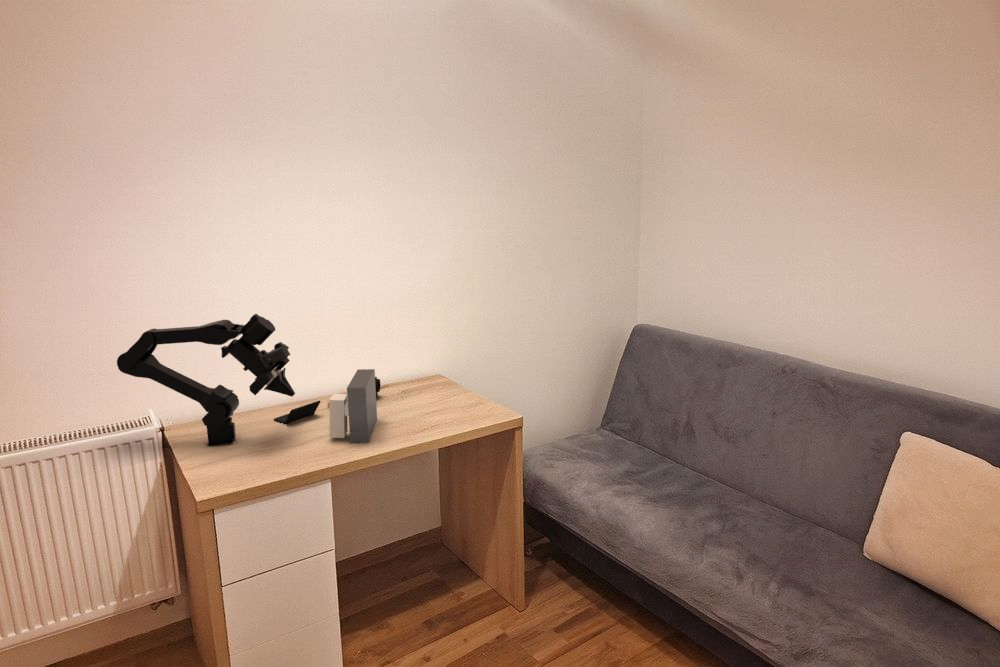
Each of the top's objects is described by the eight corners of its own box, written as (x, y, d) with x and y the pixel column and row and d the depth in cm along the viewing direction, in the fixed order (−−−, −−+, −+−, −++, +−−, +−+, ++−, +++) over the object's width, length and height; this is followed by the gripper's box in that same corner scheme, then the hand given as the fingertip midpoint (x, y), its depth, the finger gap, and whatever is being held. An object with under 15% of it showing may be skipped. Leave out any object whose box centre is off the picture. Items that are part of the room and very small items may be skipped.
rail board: (346, 443, 178) (343, 388, 175) (357, 420, 196) (354, 369, 192) (368, 442, 179) (365, 387, 175) (377, 420, 196) (374, 369, 193)
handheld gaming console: (296, 405, 205) (307, 385, 200) (312, 420, 204) (324, 400, 199) (270, 422, 196) (280, 401, 190) (287, 438, 195) (298, 417, 189)
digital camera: (374, 406, 209) (373, 385, 207) (357, 406, 209) (356, 385, 207) (381, 396, 219) (380, 376, 217) (365, 396, 219) (364, 376, 218)
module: (326, 437, 179) (326, 399, 177) (330, 431, 184) (330, 394, 182) (344, 438, 180) (344, 400, 177) (347, 431, 185) (347, 394, 182)
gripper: (258, 345, 165) (304, 386, 169) (279, 328, 184) (321, 365, 187) (229, 374, 167) (276, 414, 170) (254, 354, 185) (295, 391, 188)
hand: (293, 395), depth 179 cm, fingers closed
